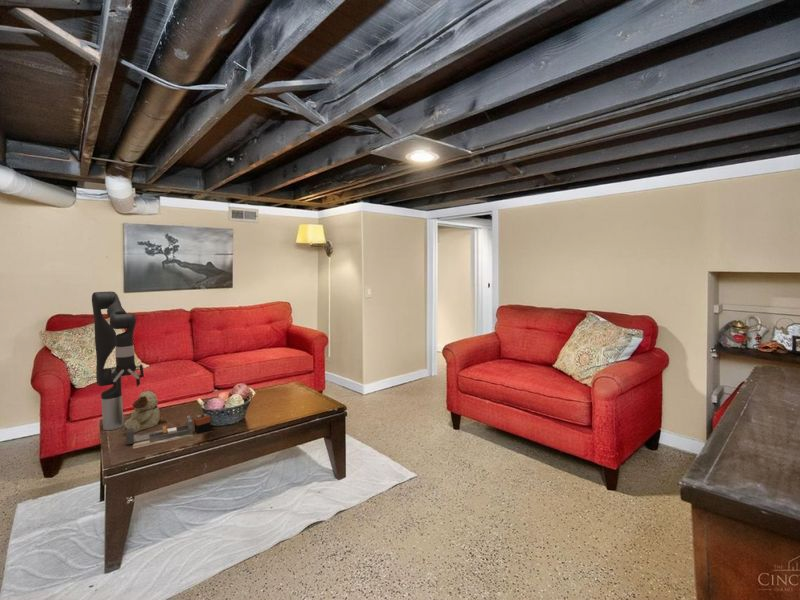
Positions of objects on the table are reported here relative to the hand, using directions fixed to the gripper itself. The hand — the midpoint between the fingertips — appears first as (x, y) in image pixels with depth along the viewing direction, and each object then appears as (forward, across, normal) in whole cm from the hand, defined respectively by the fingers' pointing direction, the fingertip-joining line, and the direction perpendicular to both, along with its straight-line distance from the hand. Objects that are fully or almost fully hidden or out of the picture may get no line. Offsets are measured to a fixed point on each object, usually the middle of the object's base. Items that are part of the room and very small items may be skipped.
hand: (127, 387), depth 196 cm
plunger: (+28, -7, 0) cm, 29 cm away
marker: (+28, -18, 0) cm, 34 cm away
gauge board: (+30, -14, 0) cm, 33 cm away
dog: (+30, -8, -23) cm, 39 cm away
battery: (+30, -32, +3) cm, 44 cm away
